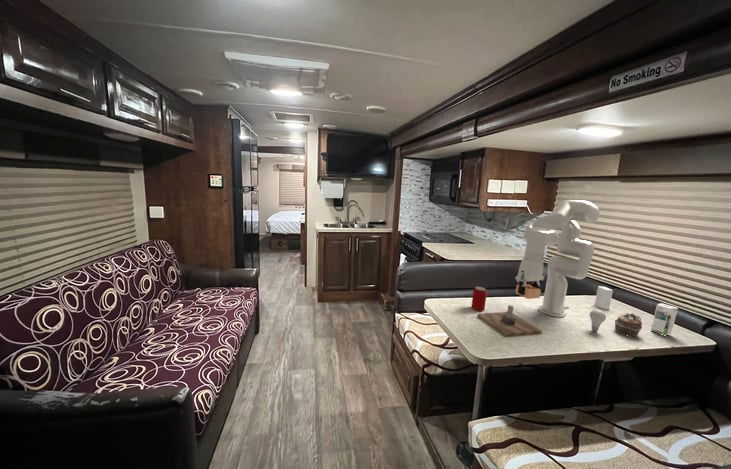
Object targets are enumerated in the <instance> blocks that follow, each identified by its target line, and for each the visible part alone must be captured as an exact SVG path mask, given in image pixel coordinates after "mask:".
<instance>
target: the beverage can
mask: <svg viewBox="0 0 731 469" xmlns="http://www.w3.org/2000/svg"><path fill="white" fill-rule="evenodd" d="M487 294H488V292H487V288H485V287H482V286H475V288H474V289H473V292H472V300H471V309H472V310H474V311H477V312H483V311H484V310H485V309H486V308H485V307H486V302H487Z"/></svg>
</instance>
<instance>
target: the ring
mask: <svg viewBox="0 0 731 469" xmlns="http://www.w3.org/2000/svg"><path fill="white" fill-rule="evenodd" d="M515 287H516V288H515V294H517V295H519V296H521V297H523V298H525V299H527V300H529V299H540V297H541V293H542V292H541V291H542V289H540V288H539V287H538V288H535V287H533V286H532V284H531V285H530V284H526V285H525V286H524V287H525V293H524V295H521V294H519V293H518V288H519V285H518V284H516V286H515Z"/></svg>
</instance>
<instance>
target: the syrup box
mask: <svg viewBox="0 0 731 469" xmlns="http://www.w3.org/2000/svg"><path fill="white" fill-rule="evenodd" d="M678 310H679V308H678V307H675V306H671V305H670V304H666V303H658V304H656V308H655V312H654V317H653V320H652V323H651V327H650V330H651V331H654V332H657V333H660V334H663V335H669V334H671V335H672V332H673V328H674V325H675V321H676V317H677V314H678V313H677V312H678ZM651 331H650V332H651ZM654 332H653V333H654ZM657 333H656V334H657ZM669 336H670V335H669Z"/></svg>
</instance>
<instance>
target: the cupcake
mask: <svg viewBox="0 0 731 469" xmlns="http://www.w3.org/2000/svg"><path fill="white" fill-rule="evenodd" d="M642 325H643V322H642V318H641V317H640V316H639V315H636V314H634V313H633V312H632V313H628V312H626V313H624V314H621V315H620V316H618V317H617V319H615V320H614V328H615V329H614V330H616V331H617V332H616V331H615V332H616V333H618V332H619V333H618V334H620V333H622V334H625V335H628V336H637V337H638V335H639V333H640V332H641V330H642V328H643V326H642ZM622 334H621V335H622ZM625 335H624V336H625ZM628 336H627V337H628Z"/></svg>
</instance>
